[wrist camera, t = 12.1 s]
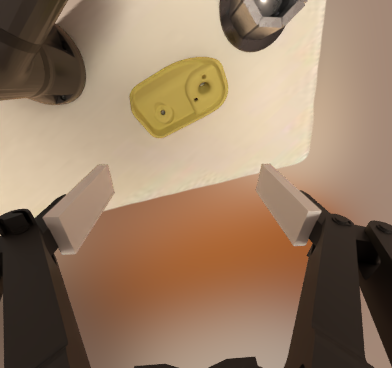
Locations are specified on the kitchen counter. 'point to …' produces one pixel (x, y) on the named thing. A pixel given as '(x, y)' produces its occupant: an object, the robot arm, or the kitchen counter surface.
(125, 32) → the kitchen counter surface
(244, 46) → the duct stub
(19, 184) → the kitchen counter surface
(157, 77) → the plastic component
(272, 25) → the collar
